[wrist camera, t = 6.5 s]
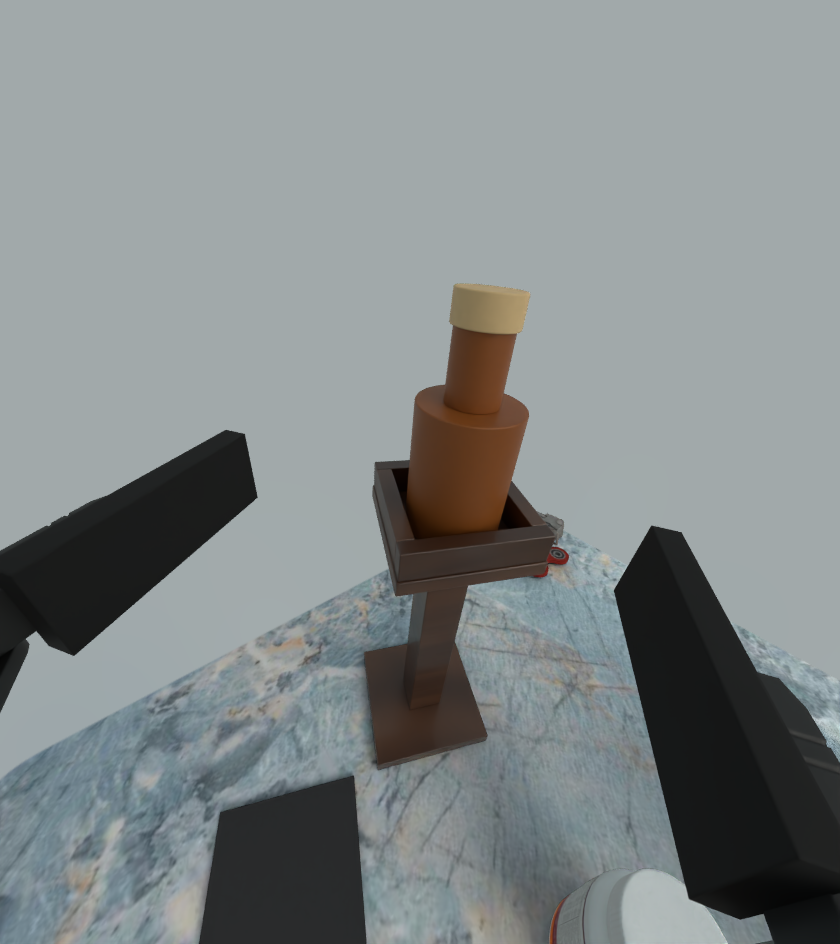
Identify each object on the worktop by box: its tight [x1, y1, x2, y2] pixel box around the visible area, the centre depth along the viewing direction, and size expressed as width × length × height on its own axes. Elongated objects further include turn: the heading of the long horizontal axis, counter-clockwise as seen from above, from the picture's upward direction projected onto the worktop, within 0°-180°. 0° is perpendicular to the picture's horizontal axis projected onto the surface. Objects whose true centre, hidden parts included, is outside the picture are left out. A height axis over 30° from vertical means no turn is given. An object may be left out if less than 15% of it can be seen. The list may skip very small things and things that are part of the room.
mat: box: [199, 776, 366, 944], centre depth 24 cm, size 10×10×1 cm
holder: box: [364, 460, 556, 770], centre depth 28 cm, size 10×10×25 cm
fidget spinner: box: [534, 547, 569, 577], centre depth 52 cm, size 8×7×1 cm
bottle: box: [405, 284, 530, 539], centre depth 19 cm, size 6×6×13 cm
